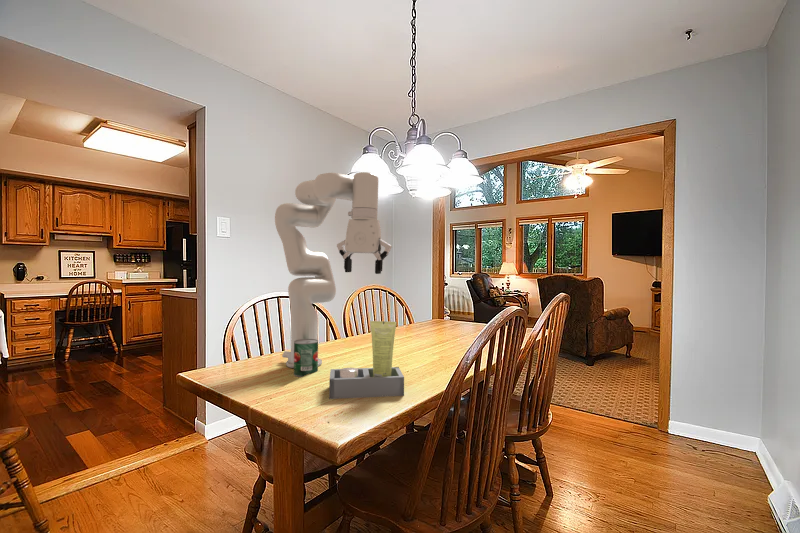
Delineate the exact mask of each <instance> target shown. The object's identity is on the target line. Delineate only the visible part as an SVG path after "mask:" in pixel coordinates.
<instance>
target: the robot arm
mask: <svg viewBox="0 0 800 533" xmlns="http://www.w3.org/2000/svg"><path fill="white" fill-rule="evenodd" d="M294 193H295V194H294V195H295V197H296V199H297V200H298V202H300V203H294V202H292V203H291V202H286V203H282V204H279V206H277V208H276V210H275V213H274V222H275V223H274V224H275V229H276V231H277V234H278V236H279V239H280V241H281V243H282V246H283V252H284V256H285V262H286V266H287V271H288V272H289V274H291V275H292V276H294V277H298V278H294V279H293V280H291V281H290V282H289V285H288V287H287V292H288V298H289V305H290V351H287V350H284V351H283V353H282V354H281V355H282V358H285V359H287V360H286V362H285V363H286V364H285V365H286V367H287V368H290V369H294V341H295V340H299V339H316V340H318V339H319V338H318V337H319V328H318V327H319V317H318V316H319V315H318V312H317V310H316V309H315V308H314V306H313V304H317V303H318V304H319V303H320V304H321V303H322V304H323V303H329V302H331V301H333V300H334V299H335V296H336V294H337V293H336V292H337V288H336V283H335V278H334V275H333V270H332V265H331V261H330V259H329V257H328V256H327V254H326V253H325V252H323V251H318V250H309V249H308V245H307V241H306V238H305V237H304V235H303V234H302V233H301V231H300V230H299V229H298V228H297V227H300V228H311V229H312V228H315V229H316V228H318V227H320V226H321V225H322V224H323V223H324V221H325V220H326V218H327V216H328V215H329V213H330V211H331V210H332V208H333V207H334V205H335V202H336V199H339V200H346V201H351V202H352V203H351V207H352V208H351V210H350V211H348V212H347V216H348V217H351V219H349V220H348V223H347V227H346V232H345V233H346V235H345V239H344V240H342V241H341V242H338V243H337V244H336V247H337V250H338V252H339V254H340V255H341V257H342V258H343V259H344V260H343V262H344V263H343V265H344V266H343V268H344V272H345V273H352V270H353V267H352V266H353V265H352V263H353V259H352V258H351V257H352V256H353V255H354V254H373V256H374V257H375V258H376V259H375V260H374V262H375V264H374V274H376V275H381V274H382V272H383V265H384V264H383V263H384V262H383V261H384V260H385V258H386V257H387V256H388V255H389V254H390V251H391V249H392V248H393V247H392V244H389V243H388V242H386V241H385V240H383V239H382V231H381V230H382V229H381V224H380V220H379V219H378V207H379V206H378V205H379V203H378V202H379V177H378V175H377V174H376V173H374V172H369V171H366V172H365V171H362V172H361V171H360V172H357V173H355V174H354V175H350V174H346V173H345V174H344V173H338V172H325V173H320V174H318V175H317V176H316V178H315V179H311V180H305V181H302V182H300V183H298V185H297V186H296V188H295V191H294ZM382 247H383V248H384V251H383V252H381V251H382ZM318 341H319V340H318ZM322 364H323V361H322V359H321V358H319V357H318V367H319V366H321V365H322Z"/></svg>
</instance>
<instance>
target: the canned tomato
mask: <svg viewBox="0 0 800 533" xmlns="http://www.w3.org/2000/svg"><path fill="white" fill-rule="evenodd" d="M318 358H319V340H316V339H299V340H295V341H294V368H293V376H294V377H297V378H303V377H306V376H307V375H309V374H314V373H317V372H318V370H319V366H318Z"/></svg>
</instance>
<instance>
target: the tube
mask: <svg viewBox="0 0 800 533" xmlns="http://www.w3.org/2000/svg"><path fill="white" fill-rule="evenodd" d="M369 322H370V323H369V325H370V331H371V332H370V333H371V345H372V347H371V348H372V368H373V377H386V376H391V371H392V367H393V355H394V353H393V352H394V343H395V334H396V328H397V323H398V322H397V321H383V320H378V321H377V320H370V321H369Z"/></svg>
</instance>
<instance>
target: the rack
mask: <svg viewBox="0 0 800 533" xmlns="http://www.w3.org/2000/svg"><path fill="white" fill-rule="evenodd" d="M355 368H356V369H358V378H340V370H341V369H342V368H330V373H329V383H328V385H329V390H328V392H329V397H328V398H329V400H334V399H335V400H336V399H339V400H340V399H356V398H357V399H360V398H378V397H379V398H382V397H383V398H384V397H401V396H402V397H404V396H405V376H404V374H403V373H402V370H401V369H400V368H399V366H392V371H391V376H386V377H373V367H361V368H360V367H359V368H357V367H355Z"/></svg>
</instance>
